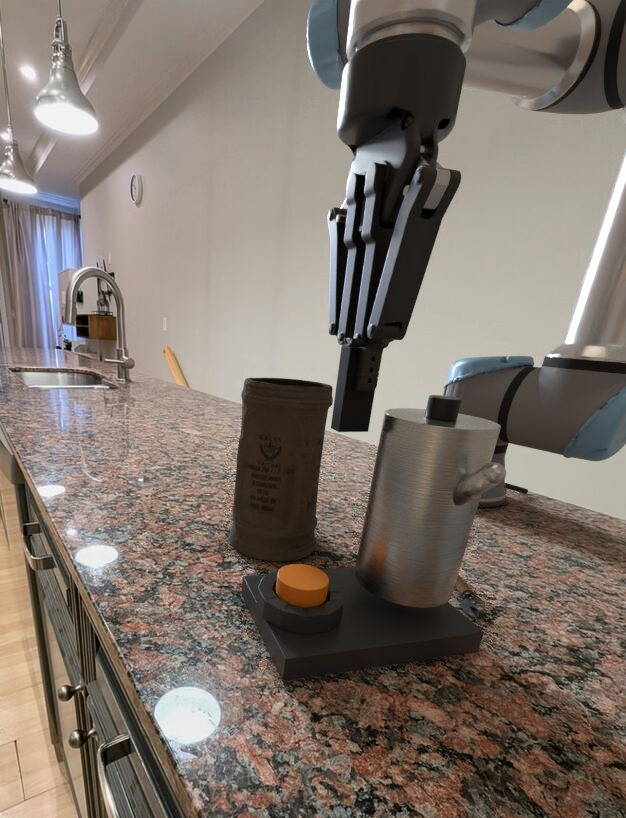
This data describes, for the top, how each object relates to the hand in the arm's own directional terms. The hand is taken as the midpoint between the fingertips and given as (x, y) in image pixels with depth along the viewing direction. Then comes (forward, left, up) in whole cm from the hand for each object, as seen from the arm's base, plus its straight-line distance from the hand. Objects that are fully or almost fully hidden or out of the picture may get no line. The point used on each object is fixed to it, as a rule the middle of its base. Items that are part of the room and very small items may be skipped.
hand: (349, 429), depth 37 cm
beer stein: (0, -16, -18) cm, 24 cm away
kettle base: (-1, +3, -17) cm, 18 cm away
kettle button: (+4, +3, -14) cm, 15 cm away
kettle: (-6, +3, -13) cm, 15 cm away
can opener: (-15, +1, -17) cm, 23 cm away
